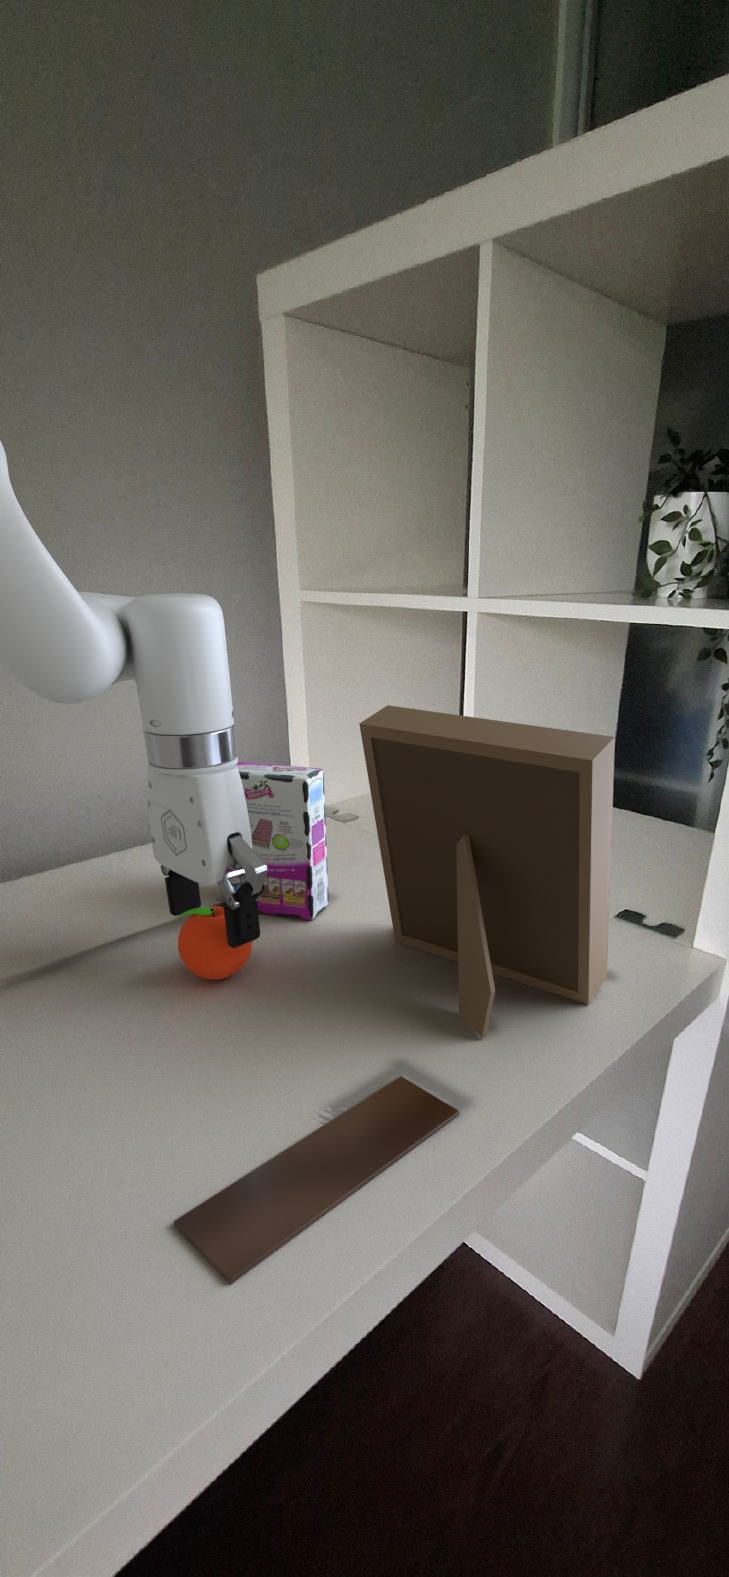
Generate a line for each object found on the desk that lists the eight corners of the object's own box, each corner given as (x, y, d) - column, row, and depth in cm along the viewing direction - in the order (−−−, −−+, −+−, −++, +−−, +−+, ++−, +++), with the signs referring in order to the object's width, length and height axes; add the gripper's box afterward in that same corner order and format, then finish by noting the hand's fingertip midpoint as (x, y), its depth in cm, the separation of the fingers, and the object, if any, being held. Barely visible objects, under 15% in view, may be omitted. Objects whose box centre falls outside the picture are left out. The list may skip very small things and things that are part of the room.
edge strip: (173, 1225, 48) (173, 1221, 47) (401, 1079, 61) (401, 1075, 61) (230, 1284, 44) (230, 1279, 44) (459, 1115, 57) (459, 1110, 57)
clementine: (158, 989, 73) (149, 921, 70) (188, 954, 79) (180, 890, 76) (240, 996, 72) (234, 927, 69) (263, 960, 78) (259, 895, 75)
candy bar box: (330, 904, 91) (326, 767, 84) (313, 922, 86) (307, 778, 80) (244, 892, 94) (234, 758, 87) (223, 908, 89) (210, 769, 83)
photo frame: (417, 927, 86) (421, 696, 75) (605, 985, 74) (639, 725, 64) (331, 983, 74) (322, 721, 64) (537, 1062, 63) (566, 760, 53)
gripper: (102, 740, 70) (131, 912, 76) (211, 774, 59) (234, 971, 66) (176, 726, 74) (198, 889, 81) (289, 756, 64) (303, 941, 71)
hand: (214, 926), depth 73 cm, fingers open, 9 cm apart
